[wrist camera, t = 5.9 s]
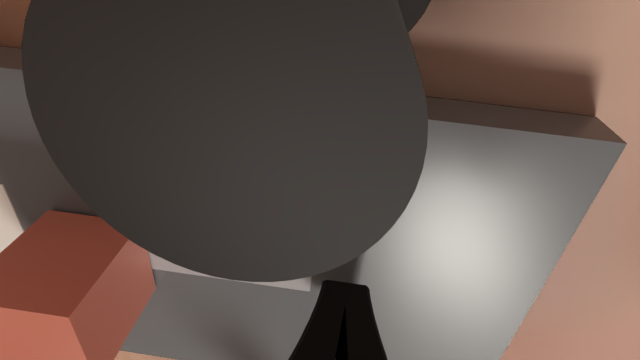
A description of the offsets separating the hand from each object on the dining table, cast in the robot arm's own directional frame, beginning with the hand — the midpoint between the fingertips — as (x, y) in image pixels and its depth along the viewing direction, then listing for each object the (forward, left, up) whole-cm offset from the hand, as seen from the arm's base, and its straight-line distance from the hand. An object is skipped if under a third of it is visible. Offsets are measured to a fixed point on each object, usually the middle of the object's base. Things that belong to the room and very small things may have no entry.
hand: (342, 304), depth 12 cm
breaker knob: (+8, 0, -1) cm, 8 cm away
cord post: (+1, -9, -2) cm, 9 cm away
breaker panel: (+4, 0, -2) cm, 5 cm away
